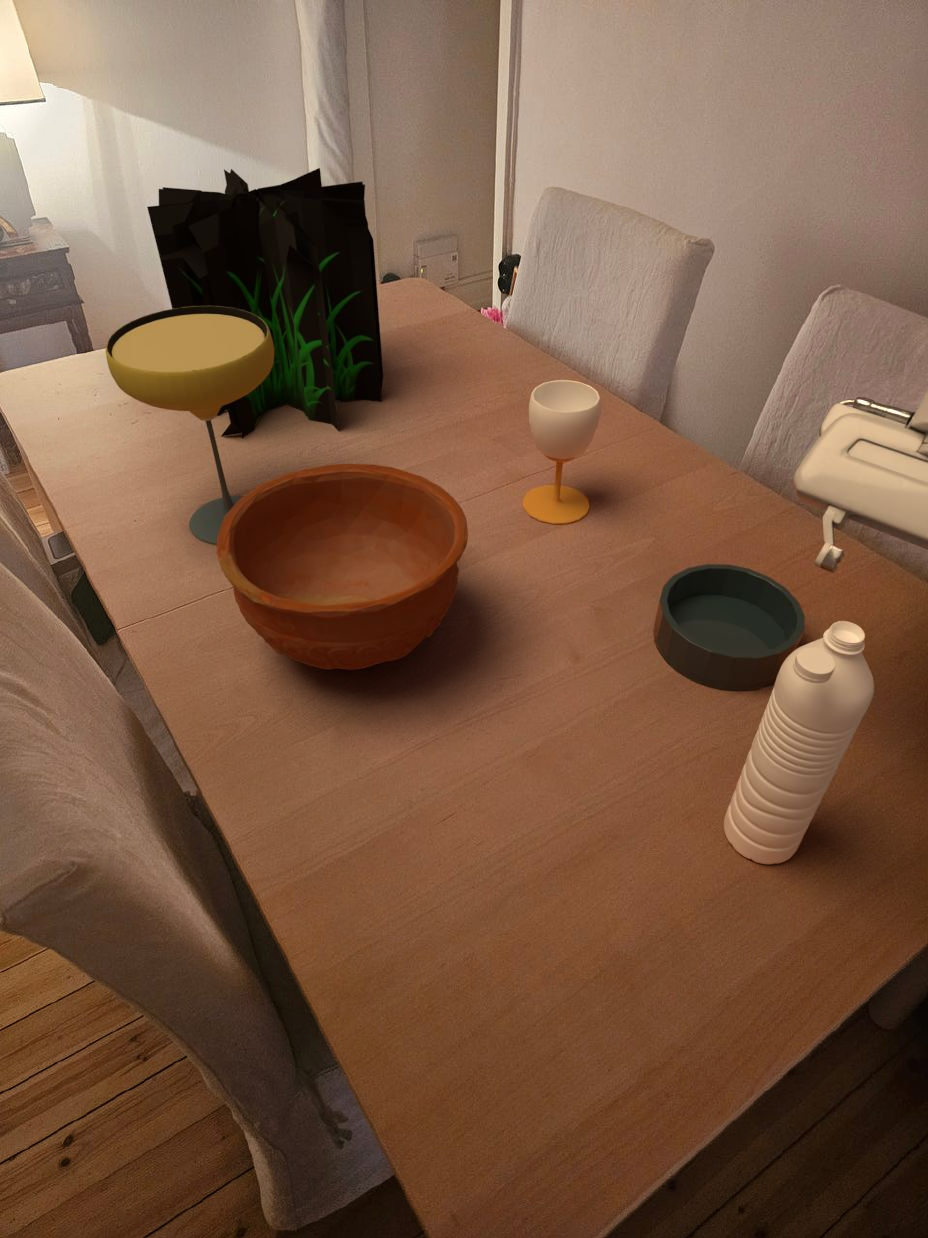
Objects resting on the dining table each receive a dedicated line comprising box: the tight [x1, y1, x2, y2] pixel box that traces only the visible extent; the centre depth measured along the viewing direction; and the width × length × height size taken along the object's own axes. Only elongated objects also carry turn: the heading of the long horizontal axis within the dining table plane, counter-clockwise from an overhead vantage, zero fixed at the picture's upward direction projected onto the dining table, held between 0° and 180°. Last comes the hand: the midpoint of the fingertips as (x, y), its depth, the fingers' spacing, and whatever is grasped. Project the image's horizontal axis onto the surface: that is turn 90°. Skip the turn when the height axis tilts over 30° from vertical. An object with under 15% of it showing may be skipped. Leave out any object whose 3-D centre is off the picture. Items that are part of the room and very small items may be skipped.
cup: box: [521, 379, 602, 525], centre depth 105 cm, size 9×9×16 cm
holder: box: [653, 563, 806, 692], centre depth 90 cm, size 15×15×5 cm
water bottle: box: [723, 620, 875, 865], centre depth 64 cm, size 9×6×25 cm
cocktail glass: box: [105, 306, 274, 545], centre depth 100 cm, size 18×18×25 cm
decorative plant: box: [146, 167, 384, 440], centre depth 123 cm, size 29×30×30 cm
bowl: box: [216, 463, 469, 671], centre depth 87 cm, size 25×25×15 cm
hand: (882, 593), depth 63 cm, fingers open, 8 cm apart
